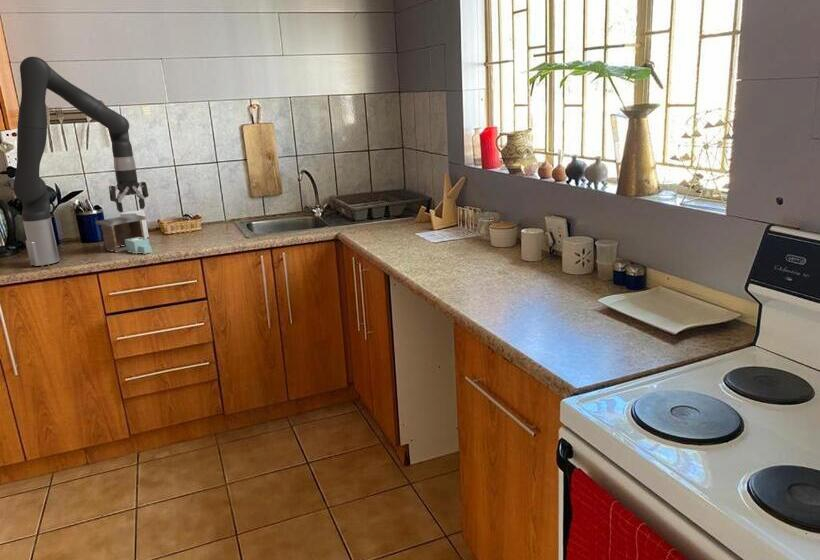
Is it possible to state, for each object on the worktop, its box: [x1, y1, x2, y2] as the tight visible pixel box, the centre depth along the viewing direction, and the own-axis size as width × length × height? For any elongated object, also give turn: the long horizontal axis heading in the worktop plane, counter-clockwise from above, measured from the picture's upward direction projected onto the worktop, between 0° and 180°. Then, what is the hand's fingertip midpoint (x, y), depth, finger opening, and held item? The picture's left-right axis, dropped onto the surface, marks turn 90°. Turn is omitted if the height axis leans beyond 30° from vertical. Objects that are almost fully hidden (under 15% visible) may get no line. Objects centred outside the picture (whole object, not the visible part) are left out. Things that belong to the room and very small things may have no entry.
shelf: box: [94, 215, 147, 252], centre depth 267 cm, size 16×10×12 cm, turn 138°
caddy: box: [125, 237, 153, 253], centre depth 259 cm, size 12×6×5 cm, turn 48°
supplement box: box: [119, 209, 150, 238], centre depth 281 cm, size 7×7×13 cm
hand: (131, 210), depth 257 cm, fingers open, 8 cm apart
